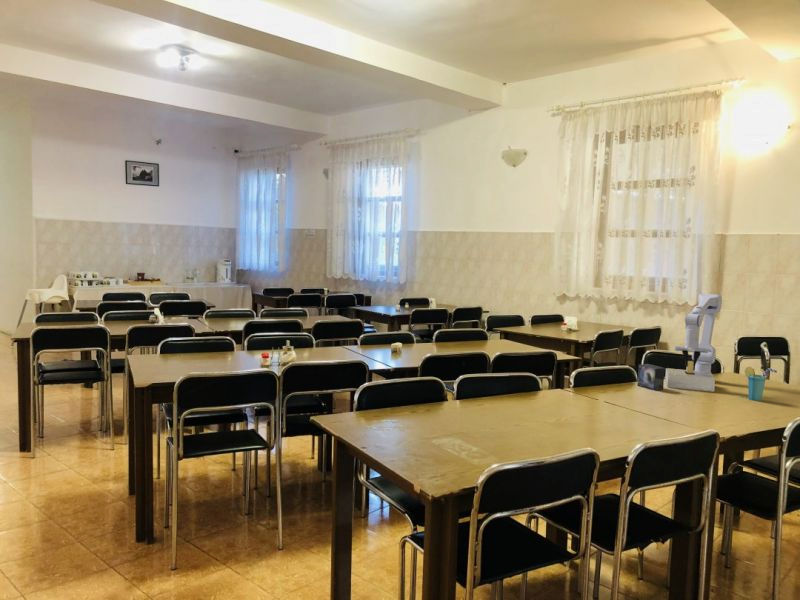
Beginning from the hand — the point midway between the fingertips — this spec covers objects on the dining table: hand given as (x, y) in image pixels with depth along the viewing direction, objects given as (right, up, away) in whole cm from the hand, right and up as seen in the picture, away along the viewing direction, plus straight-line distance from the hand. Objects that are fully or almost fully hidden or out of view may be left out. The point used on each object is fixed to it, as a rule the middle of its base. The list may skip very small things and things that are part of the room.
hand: (690, 366), depth 298 cm
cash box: (0, -10, +1) cm, 10 cm away
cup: (+19, -12, -24) cm, 33 cm away
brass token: (0, -3, +1) cm, 3 cm away
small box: (-22, -10, -6) cm, 24 cm away
